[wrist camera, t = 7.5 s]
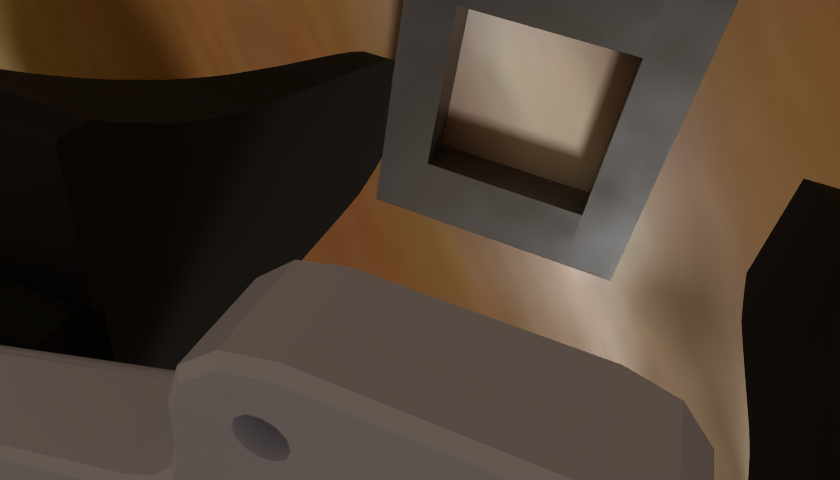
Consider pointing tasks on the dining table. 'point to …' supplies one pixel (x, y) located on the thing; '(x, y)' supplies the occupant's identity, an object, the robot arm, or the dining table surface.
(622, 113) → the grey peg holder tray
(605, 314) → the dining table surface
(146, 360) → the robot arm
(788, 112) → the dining table surface
